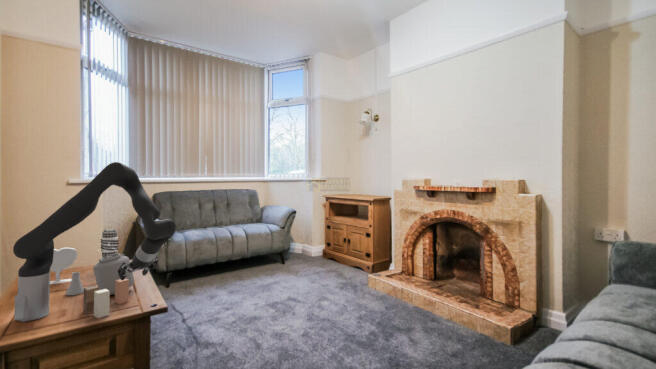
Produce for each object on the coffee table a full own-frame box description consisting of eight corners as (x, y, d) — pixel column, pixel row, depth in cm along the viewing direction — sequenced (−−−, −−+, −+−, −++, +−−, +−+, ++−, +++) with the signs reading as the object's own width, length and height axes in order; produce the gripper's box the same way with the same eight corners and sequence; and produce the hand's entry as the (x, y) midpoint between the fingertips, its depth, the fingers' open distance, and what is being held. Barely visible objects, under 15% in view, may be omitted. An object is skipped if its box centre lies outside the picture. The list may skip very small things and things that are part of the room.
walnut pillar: (98, 310, 130) (98, 287, 130) (86, 314, 126) (87, 289, 126) (94, 308, 132) (95, 285, 132) (83, 311, 129) (83, 287, 129)
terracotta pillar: (128, 301, 140) (128, 279, 140) (118, 304, 137) (119, 282, 137) (124, 299, 143) (125, 278, 143) (114, 302, 139) (115, 280, 139)
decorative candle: (95, 271, 184) (96, 230, 184) (109, 267, 193) (110, 228, 193) (108, 272, 183) (109, 230, 183) (121, 268, 192) (122, 228, 192)
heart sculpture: (37, 286, 157) (38, 251, 157) (37, 283, 161) (38, 249, 160) (76, 280, 168) (77, 247, 168) (75, 278, 171) (76, 246, 171)
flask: (73, 296, 145) (74, 275, 145) (61, 295, 146) (62, 274, 146) (88, 291, 152) (89, 271, 152) (76, 290, 153) (77, 270, 153)
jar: (85, 301, 139) (86, 246, 139) (89, 291, 152) (90, 241, 152) (134, 294, 149) (135, 243, 149) (134, 285, 162) (135, 238, 162)
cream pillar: (109, 314, 126) (109, 290, 126) (97, 318, 123) (98, 293, 123) (105, 312, 128) (105, 288, 128) (93, 315, 125) (94, 291, 125)
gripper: (160, 244, 135) (147, 265, 141) (124, 249, 123) (111, 272, 129) (166, 258, 132) (152, 279, 138) (130, 265, 120) (116, 287, 126)
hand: (132, 276), depth 134 cm, fingers open, 8 cm apart
